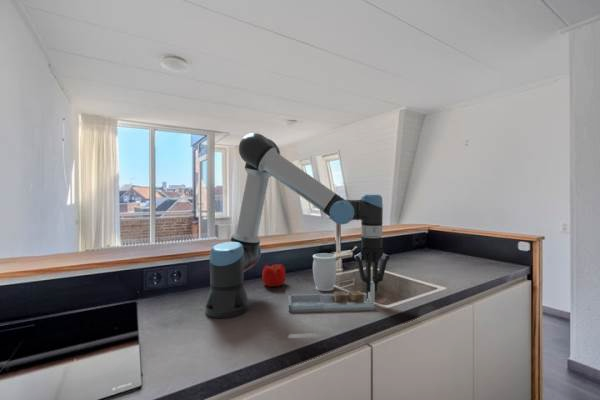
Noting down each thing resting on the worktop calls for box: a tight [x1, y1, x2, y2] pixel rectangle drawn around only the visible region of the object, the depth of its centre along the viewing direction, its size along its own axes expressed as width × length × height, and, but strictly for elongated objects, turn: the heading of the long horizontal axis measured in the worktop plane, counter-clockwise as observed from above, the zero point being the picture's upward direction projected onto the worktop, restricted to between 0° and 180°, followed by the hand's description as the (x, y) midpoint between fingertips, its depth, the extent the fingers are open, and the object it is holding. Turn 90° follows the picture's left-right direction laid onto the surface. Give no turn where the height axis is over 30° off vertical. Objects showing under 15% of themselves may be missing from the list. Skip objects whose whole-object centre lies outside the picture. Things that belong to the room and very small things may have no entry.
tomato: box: [261, 263, 287, 288], centre depth 127 cm, size 11×12×9 cm
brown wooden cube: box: [348, 290, 364, 302], centre depth 103 cm, size 4×4×4 cm
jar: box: [312, 252, 338, 292], centre depth 120 cm, size 11×10×15 cm
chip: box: [333, 290, 347, 303], centre depth 102 cm, size 4×4×4 cm
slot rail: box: [287, 292, 376, 313], centre depth 102 cm, size 30×11×3 cm, turn 93°
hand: (371, 299), depth 103 cm, fingers closed
